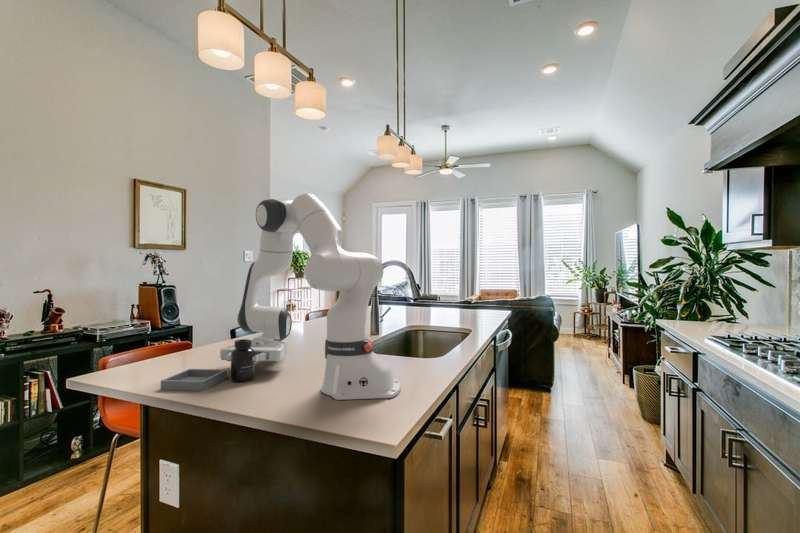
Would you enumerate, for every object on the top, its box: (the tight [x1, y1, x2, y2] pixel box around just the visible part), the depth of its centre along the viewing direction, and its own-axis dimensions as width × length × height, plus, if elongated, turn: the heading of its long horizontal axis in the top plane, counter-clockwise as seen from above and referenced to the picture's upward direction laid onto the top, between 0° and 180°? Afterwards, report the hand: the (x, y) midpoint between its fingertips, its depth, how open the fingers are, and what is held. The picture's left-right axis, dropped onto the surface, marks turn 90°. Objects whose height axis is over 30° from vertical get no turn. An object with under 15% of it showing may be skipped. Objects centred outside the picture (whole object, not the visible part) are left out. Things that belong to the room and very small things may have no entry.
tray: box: [160, 368, 228, 392], centre depth 113 cm, size 13×13×2 cm
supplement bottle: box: [230, 338, 256, 383], centre depth 117 cm, size 7×7×12 cm
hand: (241, 358), depth 116 cm, fingers closed on supplement bottle, 7 cm apart
